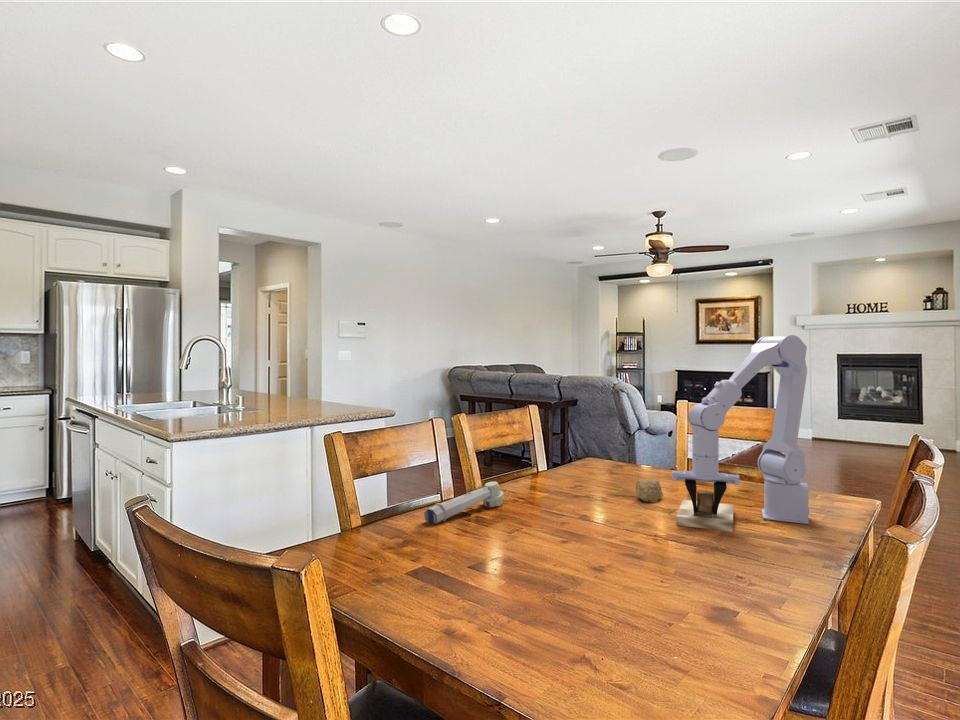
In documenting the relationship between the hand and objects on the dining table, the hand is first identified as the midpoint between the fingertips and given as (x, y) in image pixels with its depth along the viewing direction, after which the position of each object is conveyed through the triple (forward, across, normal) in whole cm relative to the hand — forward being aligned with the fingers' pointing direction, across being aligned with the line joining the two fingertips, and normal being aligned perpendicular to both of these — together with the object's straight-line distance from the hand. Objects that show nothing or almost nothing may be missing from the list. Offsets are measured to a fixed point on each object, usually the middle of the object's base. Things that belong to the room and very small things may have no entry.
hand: (705, 512), depth 131 cm
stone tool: (+3, +13, -19) cm, 23 cm away
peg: (+2, 0, 0) cm, 2 cm away
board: (+2, 0, -4) cm, 4 cm away
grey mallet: (+3, +56, +10) cm, 57 cm away
